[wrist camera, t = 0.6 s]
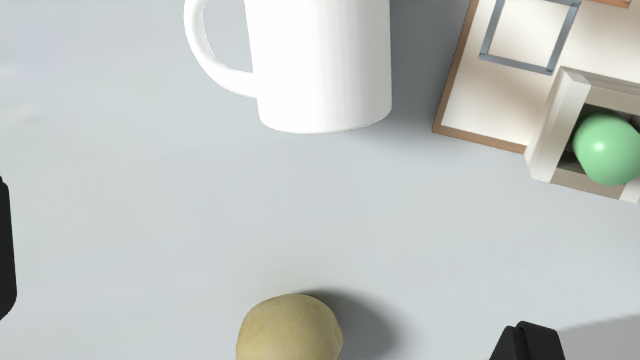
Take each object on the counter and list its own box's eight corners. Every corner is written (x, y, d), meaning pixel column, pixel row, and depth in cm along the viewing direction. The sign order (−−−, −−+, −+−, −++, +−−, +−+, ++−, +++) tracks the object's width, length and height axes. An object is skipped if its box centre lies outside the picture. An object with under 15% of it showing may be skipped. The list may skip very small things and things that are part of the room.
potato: (245, 273, 45) (209, 340, 38) (339, 268, 43) (320, 339, 36) (265, 345, 48) (235, 420, 41) (354, 344, 46) (339, 423, 39)
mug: (392, -75, 32) (380, -72, 25) (396, 92, 36) (386, 135, 29) (199, -59, 34) (138, -52, 27) (223, 96, 38) (175, 136, 31)
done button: (582, 103, 31) (597, 123, 28) (640, 117, 31) (660, 137, 28) (560, 154, 33) (573, 177, 30) (615, 167, 32) (632, 191, 29)
